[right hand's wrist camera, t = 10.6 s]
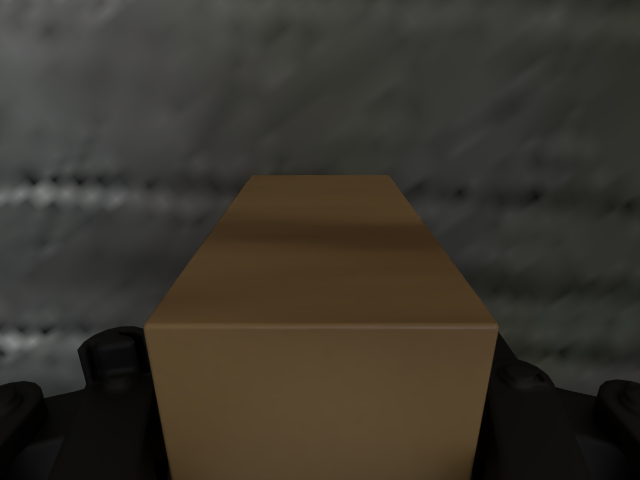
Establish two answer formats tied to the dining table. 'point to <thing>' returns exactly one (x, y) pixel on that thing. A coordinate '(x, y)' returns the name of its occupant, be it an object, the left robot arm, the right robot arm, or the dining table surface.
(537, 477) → the right robot arm
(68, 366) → the dining table surface
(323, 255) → the bar
